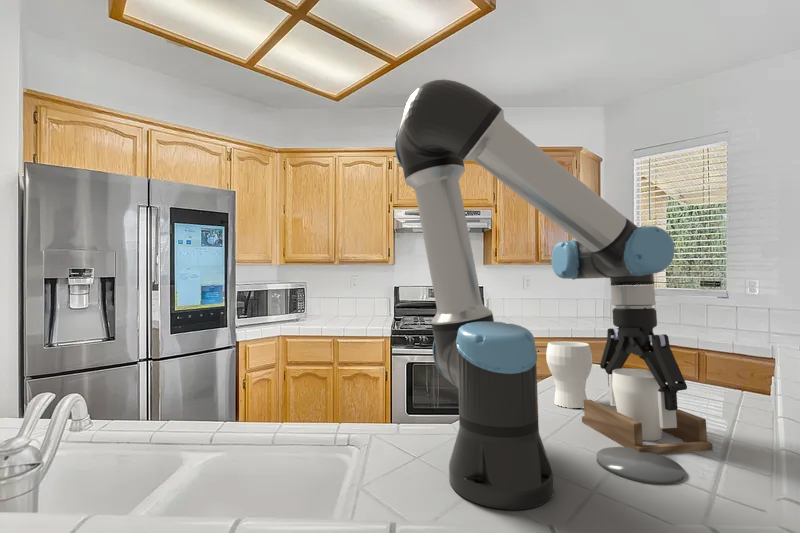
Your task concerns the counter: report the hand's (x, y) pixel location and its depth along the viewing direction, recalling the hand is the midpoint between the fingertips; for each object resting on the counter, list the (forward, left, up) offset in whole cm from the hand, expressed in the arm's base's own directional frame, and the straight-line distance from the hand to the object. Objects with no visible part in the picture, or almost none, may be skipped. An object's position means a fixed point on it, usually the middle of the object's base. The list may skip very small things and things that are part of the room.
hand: (640, 415), depth 75 cm
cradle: (0, 0, -4) cm, 4 cm away
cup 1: (-2, +21, -4) cm, 21 cm away
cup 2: (0, 0, -4) cm, 4 cm away
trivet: (-10, -12, -4) cm, 16 cm away
